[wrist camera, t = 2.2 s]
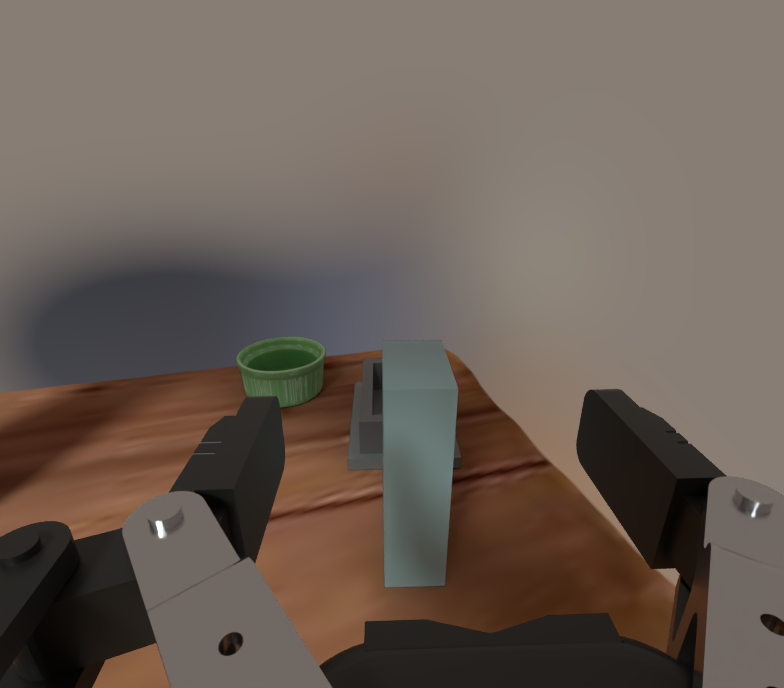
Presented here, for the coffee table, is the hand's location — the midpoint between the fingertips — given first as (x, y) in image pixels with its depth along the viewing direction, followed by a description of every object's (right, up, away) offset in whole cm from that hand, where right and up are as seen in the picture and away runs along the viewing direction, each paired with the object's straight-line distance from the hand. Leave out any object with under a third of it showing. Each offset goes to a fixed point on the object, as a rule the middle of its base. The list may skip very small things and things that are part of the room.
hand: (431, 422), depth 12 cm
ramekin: (-12, -3, +36) cm, 38 cm away
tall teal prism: (0, -11, +17) cm, 20 cm away
